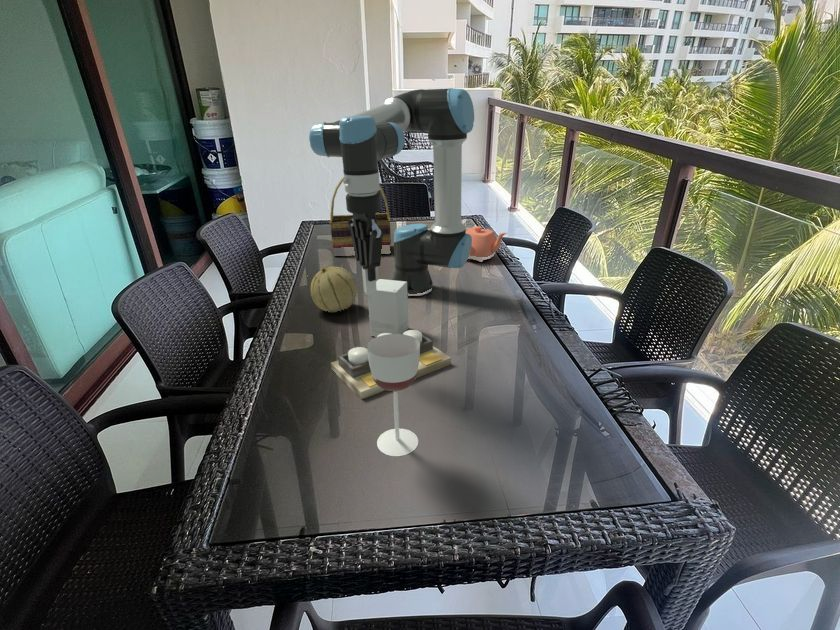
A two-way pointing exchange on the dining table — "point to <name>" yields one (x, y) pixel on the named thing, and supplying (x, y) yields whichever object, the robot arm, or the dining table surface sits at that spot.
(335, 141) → the robot arm
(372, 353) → the wineglass
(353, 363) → the button
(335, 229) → the basket
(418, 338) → the button
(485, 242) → the teapot
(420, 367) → the board
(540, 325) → the dining table surface
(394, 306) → the supplement box
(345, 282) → the cantaloupe
